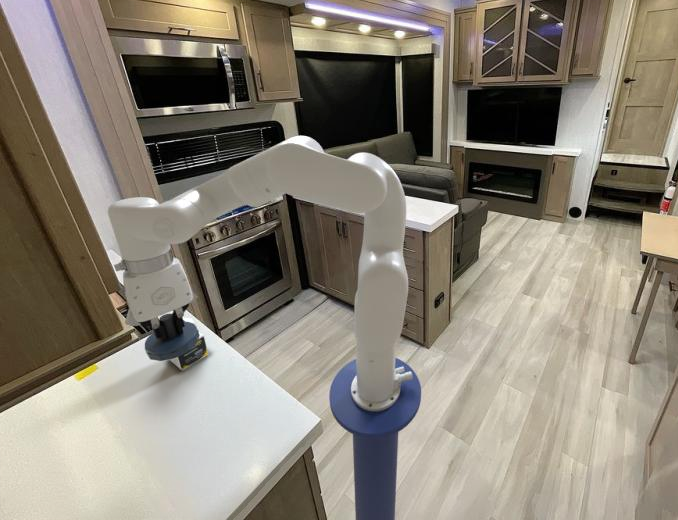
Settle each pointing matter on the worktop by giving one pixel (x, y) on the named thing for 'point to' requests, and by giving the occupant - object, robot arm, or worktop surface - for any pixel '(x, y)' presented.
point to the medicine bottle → (191, 352)
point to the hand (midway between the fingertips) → (171, 334)
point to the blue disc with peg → (171, 340)
